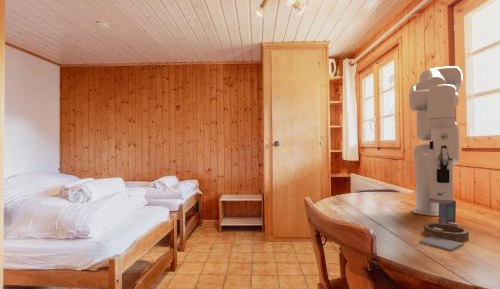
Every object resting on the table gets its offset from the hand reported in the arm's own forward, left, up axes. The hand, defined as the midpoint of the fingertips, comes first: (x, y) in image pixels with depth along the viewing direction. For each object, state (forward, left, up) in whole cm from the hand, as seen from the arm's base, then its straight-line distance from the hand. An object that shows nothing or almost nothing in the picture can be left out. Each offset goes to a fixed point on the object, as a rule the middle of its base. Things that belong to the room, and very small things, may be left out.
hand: (441, 180), depth 92 cm
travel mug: (0, 0, -7) cm, 7 cm away
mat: (0, 0, -20) cm, 20 cm away
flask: (-25, -8, -20) cm, 33 cm away
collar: (-11, -3, -20) cm, 23 cm away
